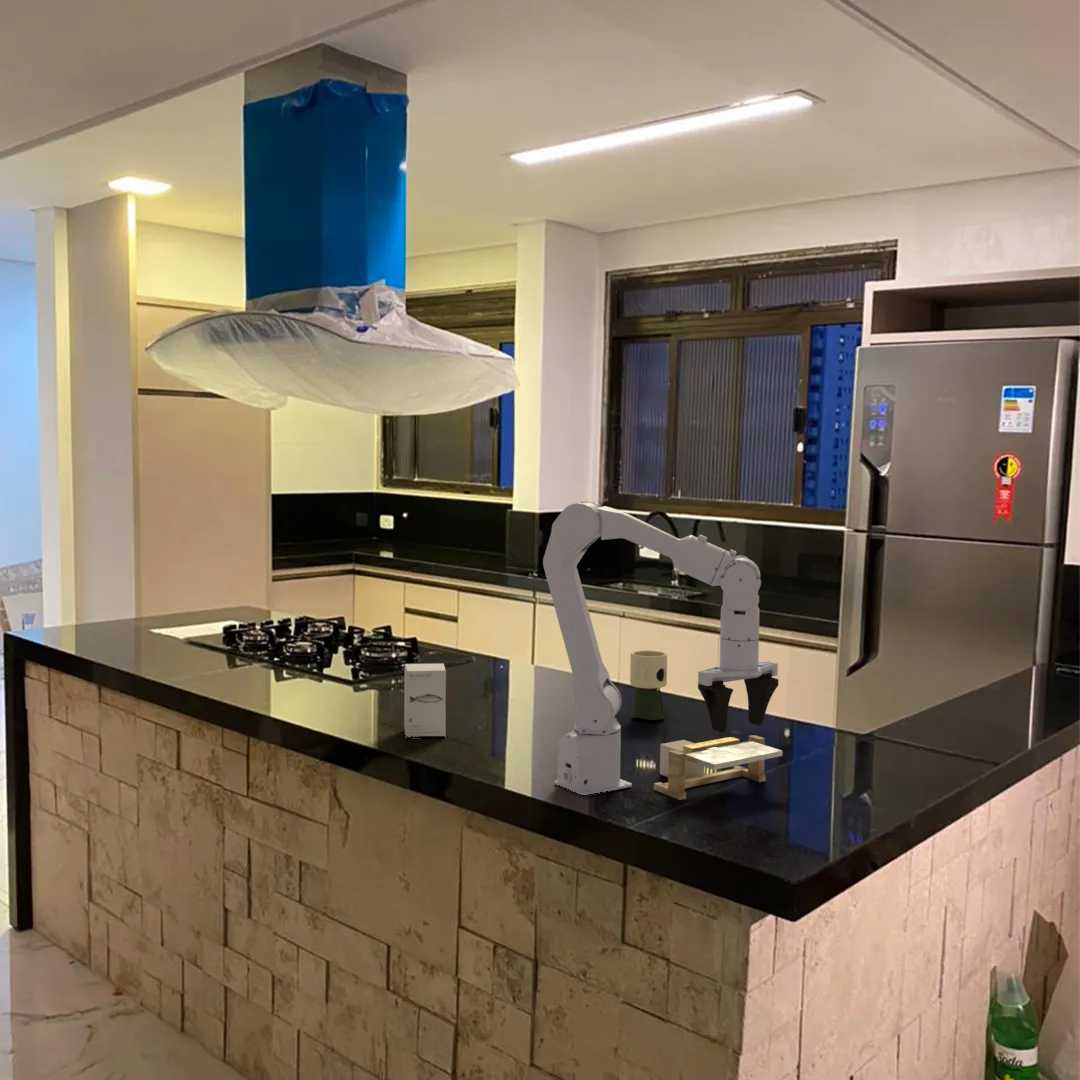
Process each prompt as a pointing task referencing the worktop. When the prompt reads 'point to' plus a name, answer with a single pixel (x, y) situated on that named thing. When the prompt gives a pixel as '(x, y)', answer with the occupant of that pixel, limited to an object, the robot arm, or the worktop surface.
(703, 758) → the trapdoor
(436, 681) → the supplement box
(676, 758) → the frame
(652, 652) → the character mug
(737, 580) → the robot arm
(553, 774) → the worktop surface
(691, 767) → the stone block
